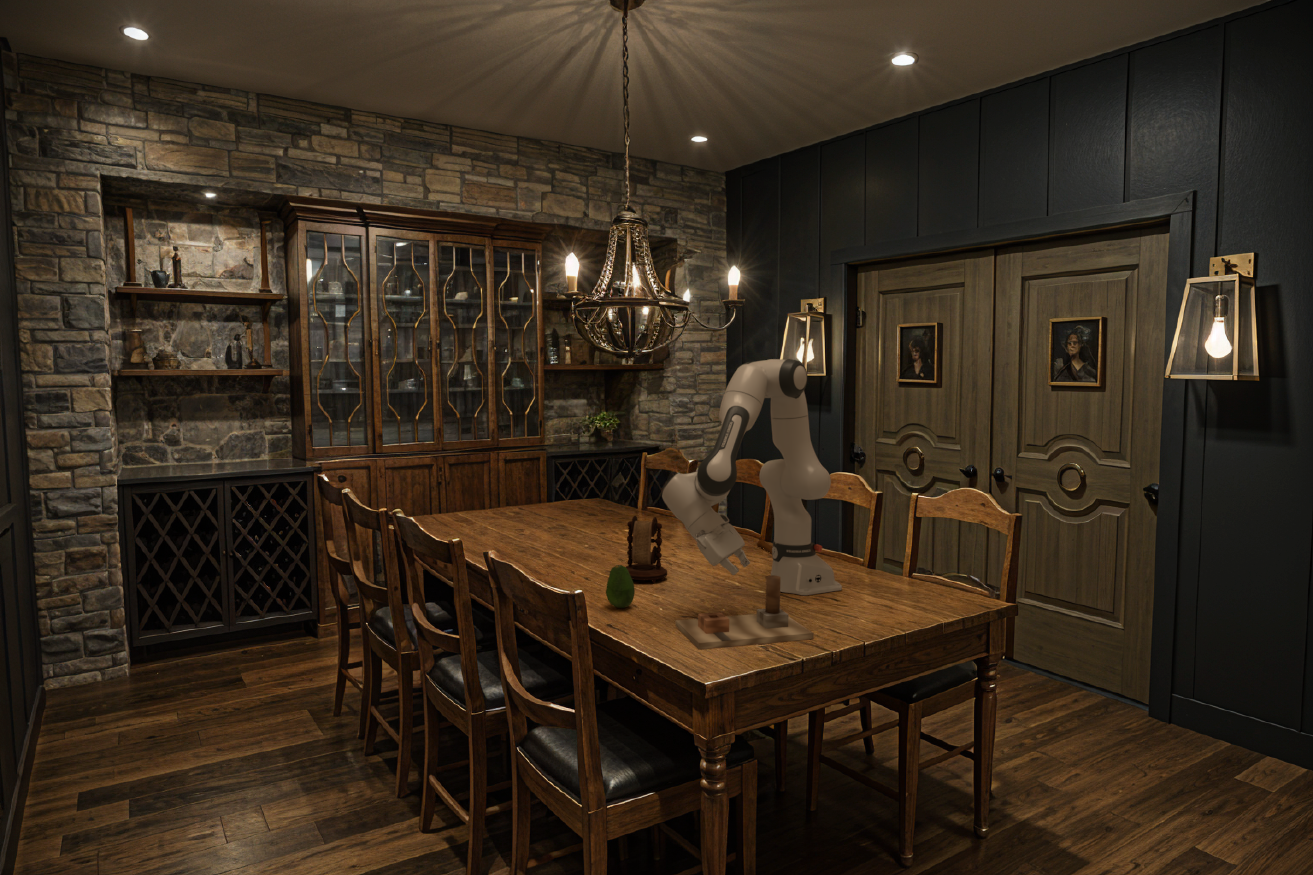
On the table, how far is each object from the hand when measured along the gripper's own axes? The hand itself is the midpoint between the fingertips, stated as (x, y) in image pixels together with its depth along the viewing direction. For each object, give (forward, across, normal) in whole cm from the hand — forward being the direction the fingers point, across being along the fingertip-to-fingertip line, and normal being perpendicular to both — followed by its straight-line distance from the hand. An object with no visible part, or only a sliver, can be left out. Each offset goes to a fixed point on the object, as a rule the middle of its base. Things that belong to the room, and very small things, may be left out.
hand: (742, 569), depth 205 cm
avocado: (-14, 0, +35) cm, 38 cm away
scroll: (-19, +32, +41) cm, 55 cm away
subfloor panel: (+12, -5, +9) cm, 16 cm away
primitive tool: (0, +88, +22) cm, 90 cm away
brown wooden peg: (+15, 0, +3) cm, 15 cm away
